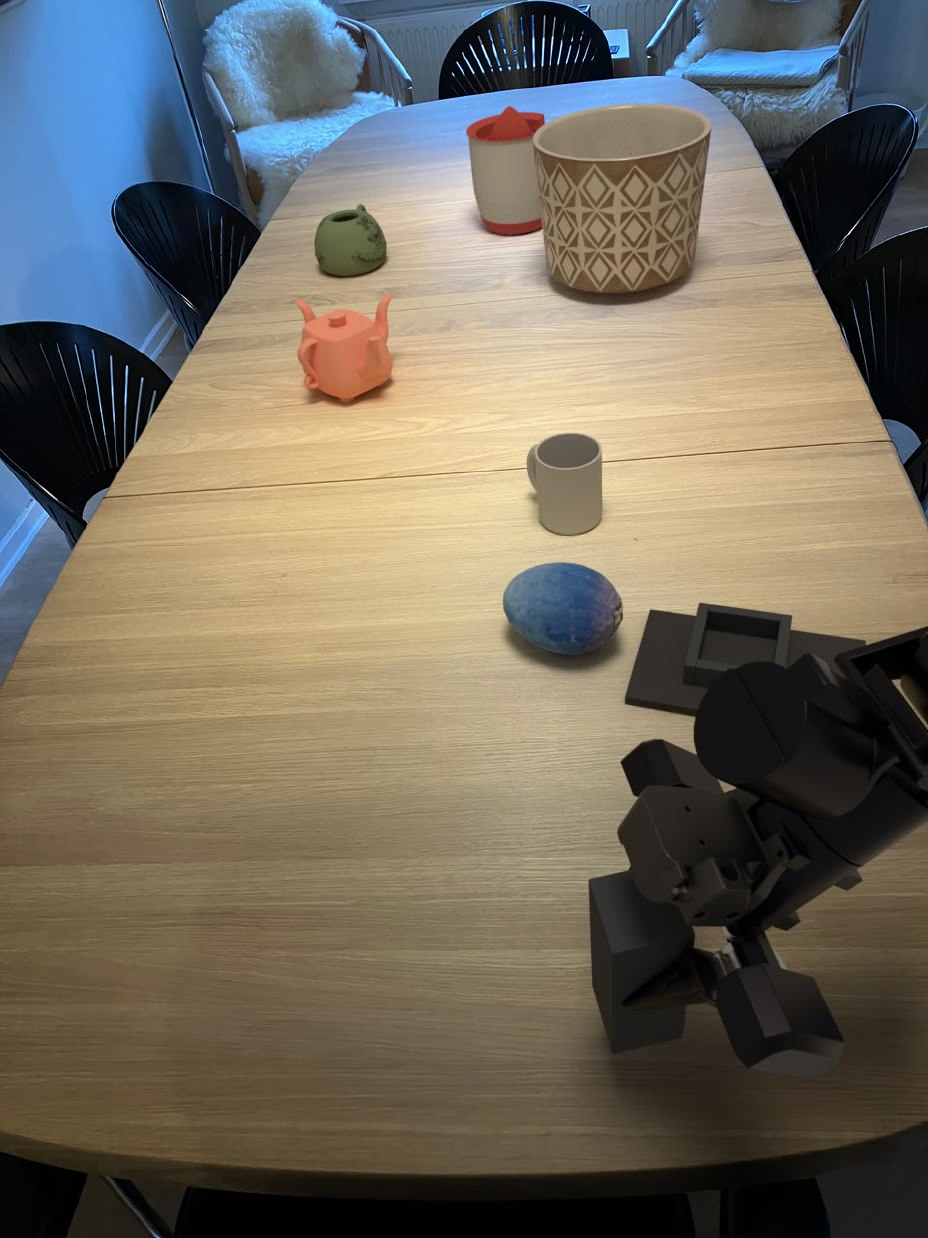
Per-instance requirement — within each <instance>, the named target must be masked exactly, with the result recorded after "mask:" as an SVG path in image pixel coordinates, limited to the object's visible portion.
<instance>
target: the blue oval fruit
mask: <svg viewBox="0 0 928 1238" xmlns="http://www.w3.org/2000/svg"><path fill="white" fill-rule="evenodd" d="M502 609H503V612H504V615H505V617H506V619H507V621H508V623H509V624H510V625H511V626H512V627H513V629H515V630H516V631H517V633H519V634H520V635H521V636H522V637H523V638H524V639H525V640H527V641H529V642H531V643H532V645H535V646H536V647H538V648H541V649H543V650H546V651H549V652H552V653H556V654H563V655H579V654H585V653H588V652H591V651H594V650H596V649H598V648H600V647H602V646H603V645H605V644H606V643H608V642H610V640H612V639H613V638H614V636H615V635H616V633H617V631H618V629H619V627H620V626H621V623H622V622H623V619H624V611H623V610H624V604H623V601H622V597H621V595H620V594H619V593H618V591H617V589H616V588H615V586H614V585H613V583H612V582H610V580H609V579H608V578H607V577H606V576H605V575H604V574H602V573H601V572H598V571H597V570H595V569H593V568H591V567H589V566H586V565H583V564H580V563H579V564H578V563H574V562H566V561H565V562H564V561H562V562H561V561H560V562H559V561H558V562H550V563H549V562H548V563H542V564H538V565H535V566H533V567H530V568H528V569H525V570H523V571H522V572H520V573H518V574H517V575H515V576H514V577H513V578H512V579H511V580H510V582H509V583H508V584H507V586H506V588H505V590H504V591H503V595H502Z"/></svg>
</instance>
